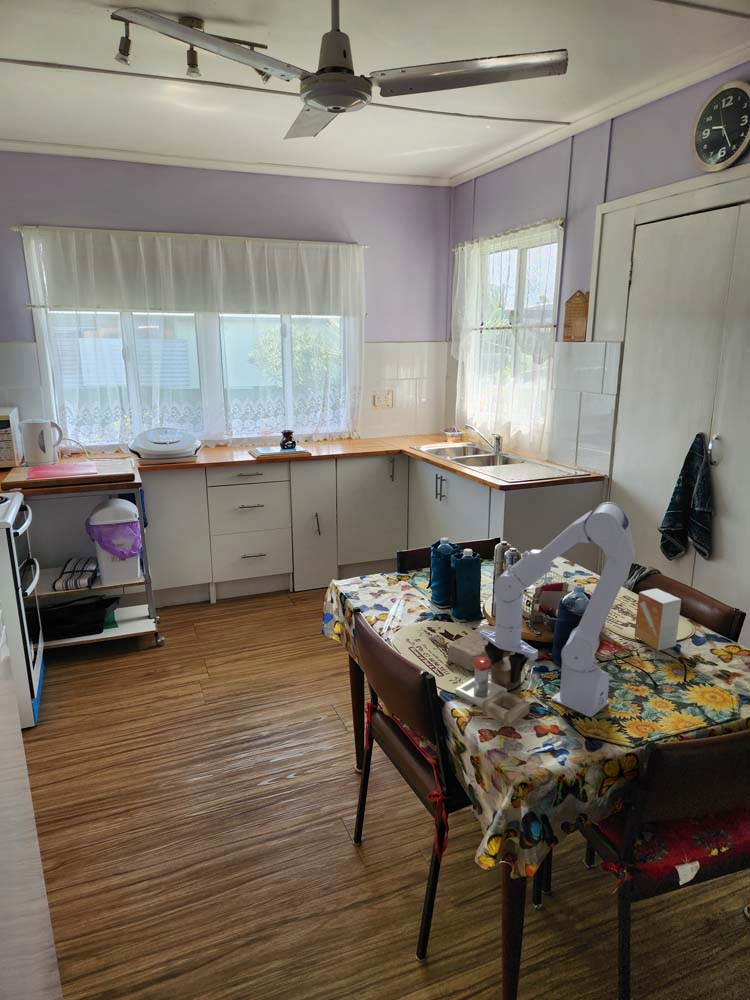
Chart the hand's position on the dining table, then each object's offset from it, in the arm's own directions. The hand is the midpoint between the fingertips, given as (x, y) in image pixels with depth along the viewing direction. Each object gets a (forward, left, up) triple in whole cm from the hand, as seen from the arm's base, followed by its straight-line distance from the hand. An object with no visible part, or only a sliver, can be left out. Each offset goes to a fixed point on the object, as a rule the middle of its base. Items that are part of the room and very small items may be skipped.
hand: (506, 677), depth 146 cm
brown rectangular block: (0, 0, -2) cm, 2 cm away
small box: (-15, -44, -2) cm, 47 cm away
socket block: (-7, +10, -1) cm, 12 cm away
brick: (+13, -7, -2) cm, 15 cm away
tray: (+1, +8, -1) cm, 8 cm away
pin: (+1, +8, -1) cm, 8 cm away
